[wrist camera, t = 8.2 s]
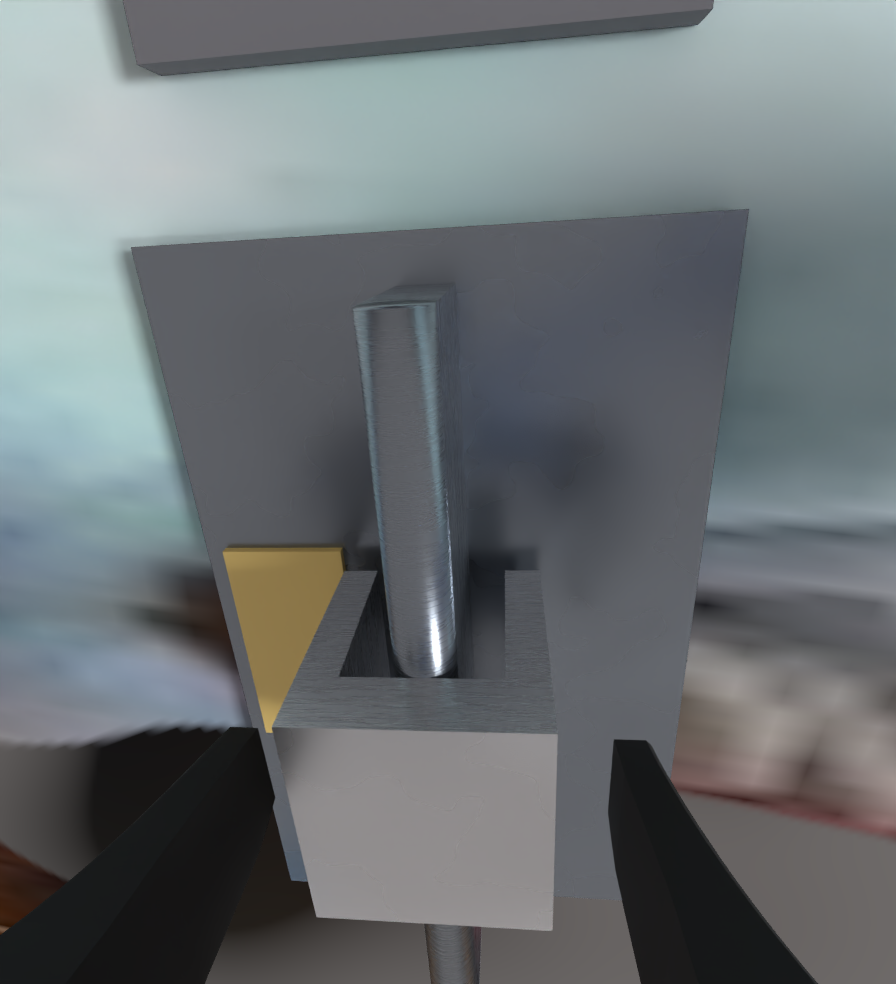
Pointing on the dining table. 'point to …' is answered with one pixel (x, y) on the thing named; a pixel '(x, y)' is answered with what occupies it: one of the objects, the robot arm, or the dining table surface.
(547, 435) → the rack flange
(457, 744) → the slotted grey block
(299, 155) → the dining table surface
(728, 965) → the robot arm
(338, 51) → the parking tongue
